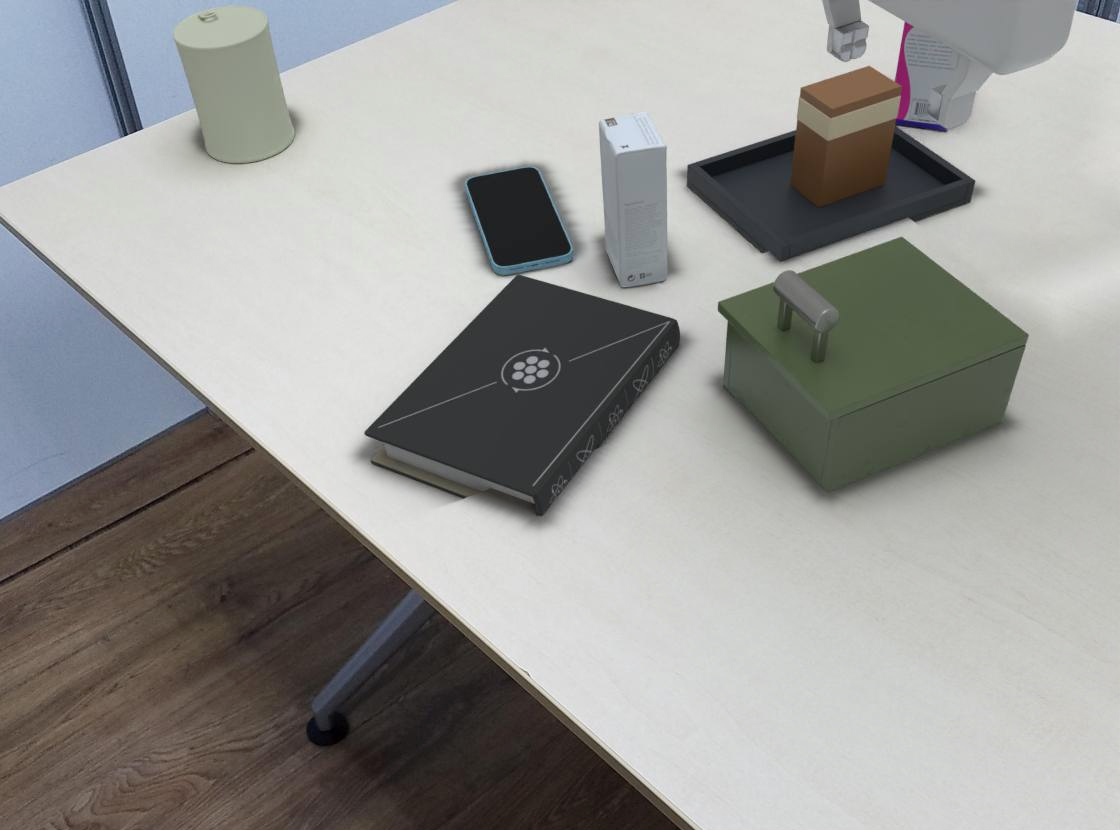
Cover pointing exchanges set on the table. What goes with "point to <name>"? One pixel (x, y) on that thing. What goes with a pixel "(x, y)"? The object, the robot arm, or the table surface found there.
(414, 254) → the table surface
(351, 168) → the table surface
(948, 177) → the tray
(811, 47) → the table surface
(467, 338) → the book
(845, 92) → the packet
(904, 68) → the supplement box
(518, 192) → the smartphone
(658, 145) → the cosmetic box
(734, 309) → the lid
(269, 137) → the can
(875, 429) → the green box base
